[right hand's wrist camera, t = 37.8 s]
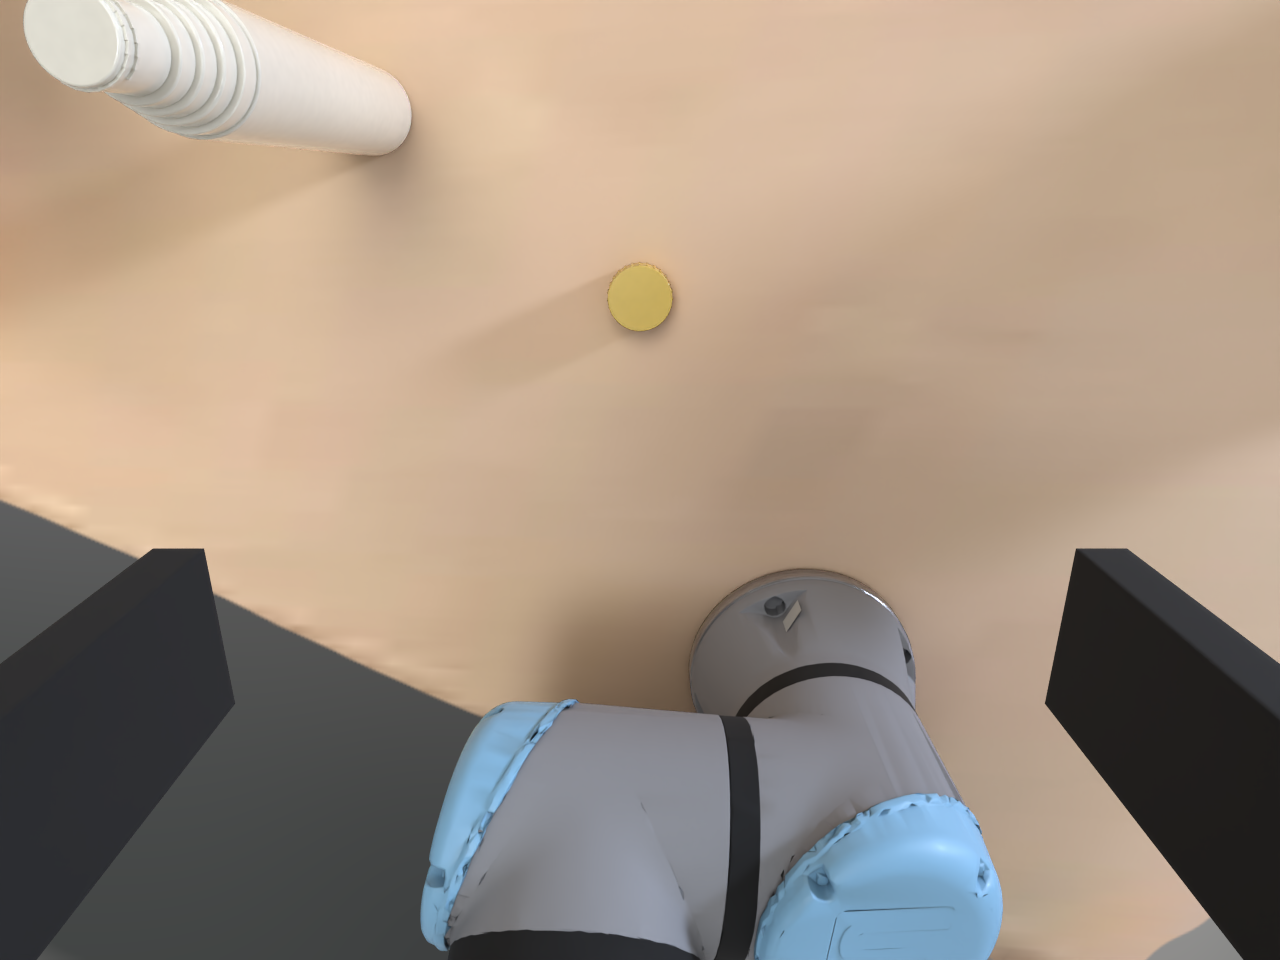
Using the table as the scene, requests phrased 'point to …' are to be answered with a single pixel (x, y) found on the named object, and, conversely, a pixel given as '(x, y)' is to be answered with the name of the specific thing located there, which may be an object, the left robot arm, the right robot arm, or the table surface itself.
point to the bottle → (219, 74)
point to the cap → (639, 297)
